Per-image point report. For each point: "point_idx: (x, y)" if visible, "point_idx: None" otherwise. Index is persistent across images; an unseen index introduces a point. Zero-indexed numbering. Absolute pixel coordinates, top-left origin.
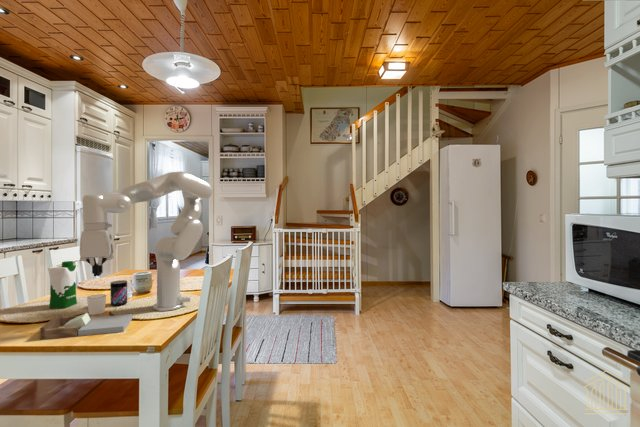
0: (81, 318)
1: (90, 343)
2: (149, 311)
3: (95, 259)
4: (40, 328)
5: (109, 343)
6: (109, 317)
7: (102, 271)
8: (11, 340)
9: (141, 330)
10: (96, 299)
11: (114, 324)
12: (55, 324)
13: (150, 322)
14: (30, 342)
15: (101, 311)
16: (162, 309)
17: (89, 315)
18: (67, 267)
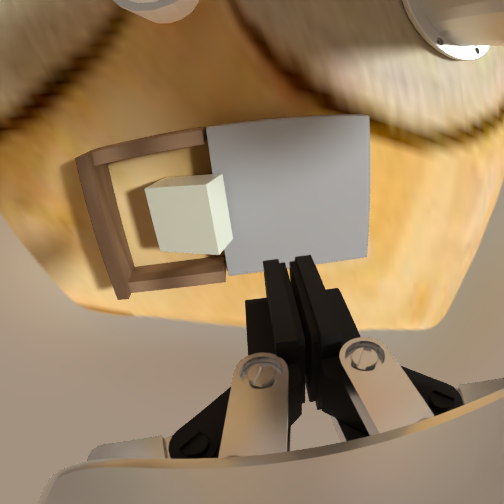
0: (218, 252)
1: None
2: (398, 34)
3: (287, 431)
4: (119, 298)
5: None
6: (288, 144)
7: (338, 295)
8: (57, 271)
9: (406, 243)
10: (168, 6)
11: (334, 235)
12: (109, 210)
13: (425, 173)
14: None
15: (194, 6)
16: (446, 54)
17: (199, 140)
18: None
